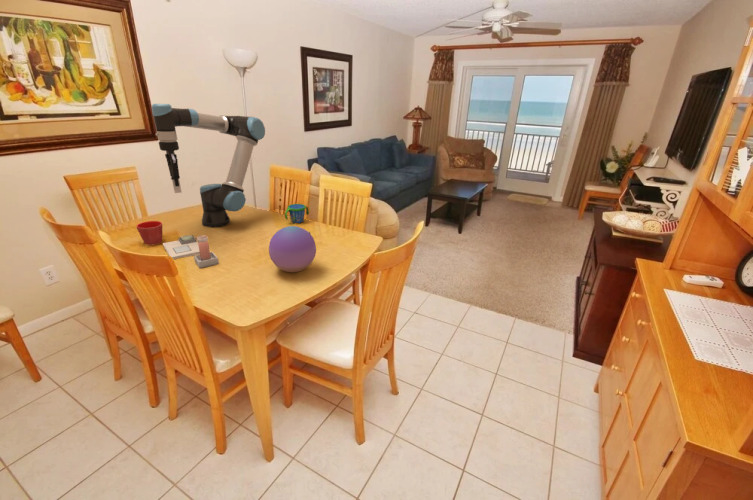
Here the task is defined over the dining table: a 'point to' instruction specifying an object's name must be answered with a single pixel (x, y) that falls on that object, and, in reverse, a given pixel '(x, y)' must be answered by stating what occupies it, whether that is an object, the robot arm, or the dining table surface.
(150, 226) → the flower pot
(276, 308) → the dining table surface
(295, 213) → the snack cup
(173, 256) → the board
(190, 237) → the button
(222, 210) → the robot arm
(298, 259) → the ball
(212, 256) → the tray
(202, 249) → the tumbler
